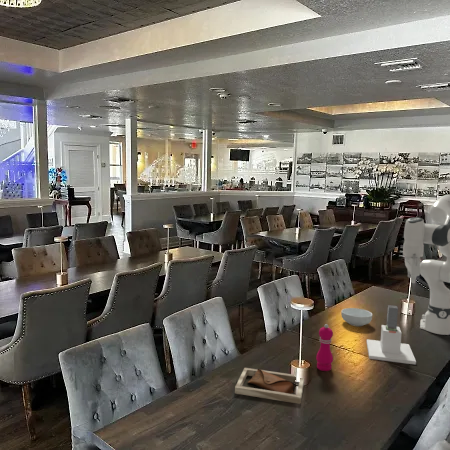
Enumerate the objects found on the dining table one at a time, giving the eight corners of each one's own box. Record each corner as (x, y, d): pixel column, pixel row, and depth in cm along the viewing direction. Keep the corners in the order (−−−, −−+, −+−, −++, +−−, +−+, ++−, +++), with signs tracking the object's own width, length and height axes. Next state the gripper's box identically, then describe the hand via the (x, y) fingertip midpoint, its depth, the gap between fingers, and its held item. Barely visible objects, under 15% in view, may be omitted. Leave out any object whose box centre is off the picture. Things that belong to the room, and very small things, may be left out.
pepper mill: (332, 372, 178) (335, 327, 175) (315, 370, 179) (318, 326, 177) (332, 365, 185) (334, 322, 182) (315, 363, 186) (317, 320, 184)
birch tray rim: (244, 373, 175) (244, 367, 175) (304, 382, 169) (304, 376, 169) (234, 393, 159) (235, 387, 159) (300, 403, 153) (300, 397, 152)
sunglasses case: (245, 382, 166) (251, 365, 168) (254, 384, 171) (259, 368, 173) (284, 398, 155) (289, 380, 157) (292, 400, 160) (297, 383, 162)
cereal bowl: (374, 322, 240) (375, 311, 239) (367, 331, 226) (368, 319, 225) (345, 316, 249) (346, 305, 248) (337, 325, 235) (337, 313, 234)
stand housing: (366, 342, 211) (367, 318, 210) (408, 347, 206) (410, 323, 204) (369, 358, 192) (370, 333, 190) (415, 364, 187) (417, 338, 185)
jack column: (385, 336, 201) (387, 304, 199) (394, 337, 200) (397, 305, 198) (386, 340, 197) (388, 307, 195) (396, 341, 195) (398, 308, 194)
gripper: (424, 257, 186) (422, 286, 188) (416, 248, 205) (415, 275, 207) (409, 256, 187) (407, 285, 189) (402, 247, 207) (401, 274, 209)
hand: (411, 280), depth 198 cm, fingers open, 8 cm apart
